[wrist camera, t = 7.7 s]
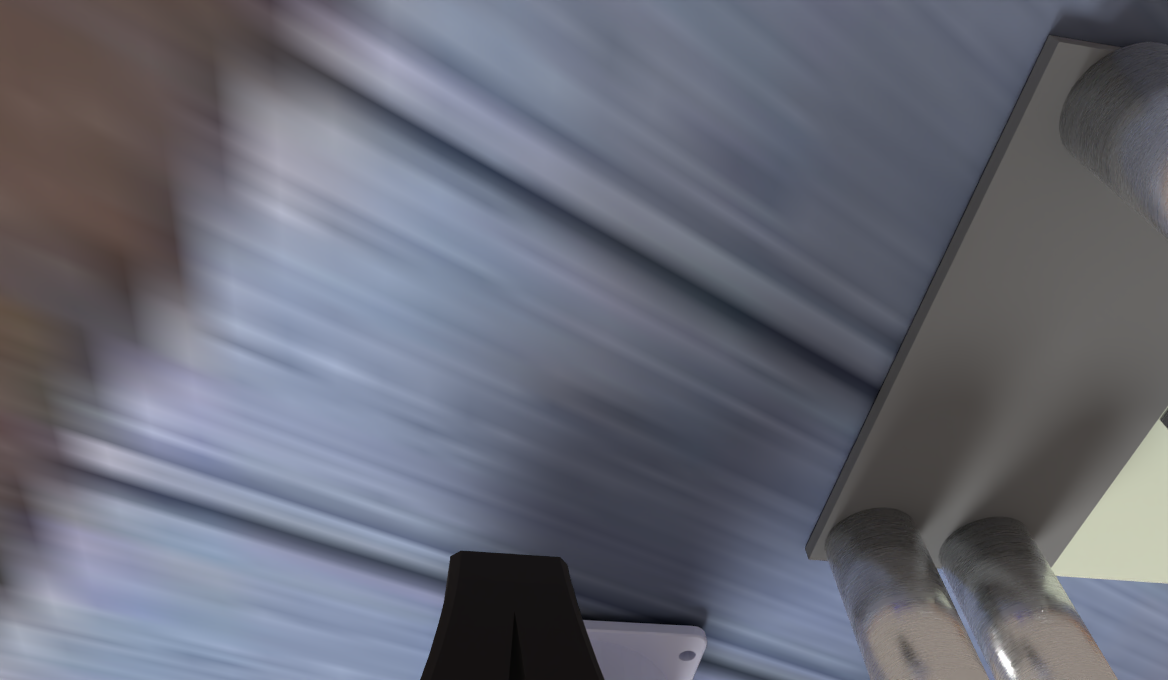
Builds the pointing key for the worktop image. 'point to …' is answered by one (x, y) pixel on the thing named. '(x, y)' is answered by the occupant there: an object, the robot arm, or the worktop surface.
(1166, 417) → the nut
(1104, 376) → the mat
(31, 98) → the worktop surface
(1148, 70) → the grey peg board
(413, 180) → the worktop surface
